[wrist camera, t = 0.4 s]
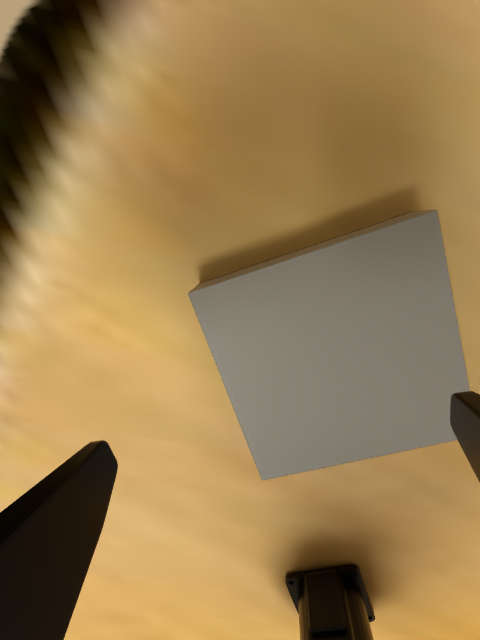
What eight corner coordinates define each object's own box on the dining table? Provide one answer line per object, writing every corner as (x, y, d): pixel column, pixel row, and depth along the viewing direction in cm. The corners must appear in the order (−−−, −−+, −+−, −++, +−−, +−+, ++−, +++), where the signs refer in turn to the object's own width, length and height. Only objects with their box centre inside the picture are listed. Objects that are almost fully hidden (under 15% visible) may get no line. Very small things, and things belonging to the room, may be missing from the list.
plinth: (452, 408, 23) (477, 435, 20) (263, 451, 26) (262, 480, 23) (413, 211, 19) (437, 210, 17) (198, 283, 22) (188, 293, 19)
